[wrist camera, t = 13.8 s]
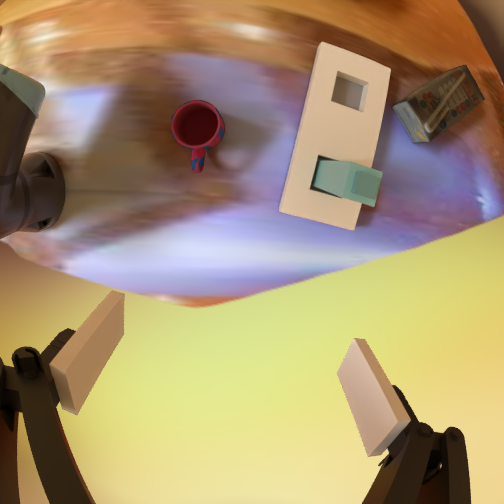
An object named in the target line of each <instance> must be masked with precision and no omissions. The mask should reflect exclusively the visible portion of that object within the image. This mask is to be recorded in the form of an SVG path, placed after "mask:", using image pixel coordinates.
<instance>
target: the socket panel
mask: <svg viewBox="0 0 504 504" xmlns="http://www.w3.org/2000/svg"><path fill="white" fill-rule="evenodd" d="M390 72H391V69H390V68H388V67H386V66H383V65H381V64H379V63H377V62H374V61H372V60H370V59H367V58H365V57H363V56H360V55H358V54H355V53H353V52H350V51H347V50H345V49H342V48H339V47H336V46H333V45H330V44H327V43H324V42H321V43H320V45H319V46H318V48H317V52H316V56H315V60H314V65H313V69H312V73H311V77H310V82H309V86H308V90H307V94H306V99H305V103H304V107H303V111H302V115H301V120H300V124H299V128H298V132H297V136H296V140H295V144H294V148H293V152H292V156H291V160H290V164H289V169H288V173H287V177H286V181H285V185H284V188H283V192H282V196H281V200H280V204H279V208H278V209H279V211H280V212H282V213H286V214H290V215H294V216H298V217H303V218H307V219H311V220H314V221H318V222H322V223H326V224H330V225H334V226H338V227H341V228H345V229H349V230H353V231H354V229H355V225H356V222H357V219H358V215H359V212H360V208H361V205H362V203H359V202H356V201H352V200H349V199H345V198H342V197H339V196H337V195H335V194H332V193H330V192H327V191H325V190H322V189H320V188H317V187H315V186H312V185H311V183H312V179H313V175H314V171H315V167H316V163H317V160H322V161H351V162H354V163H357V164H360V165H363V166H366V167H369V168H371V167H372V163H373V159H374V155H375V150H376V146H377V142H378V137H379V132H380V128H381V123H382V118H383V113H384V107H385V102H386V96H387V91H388V85H389V78H390Z"/></svg>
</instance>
